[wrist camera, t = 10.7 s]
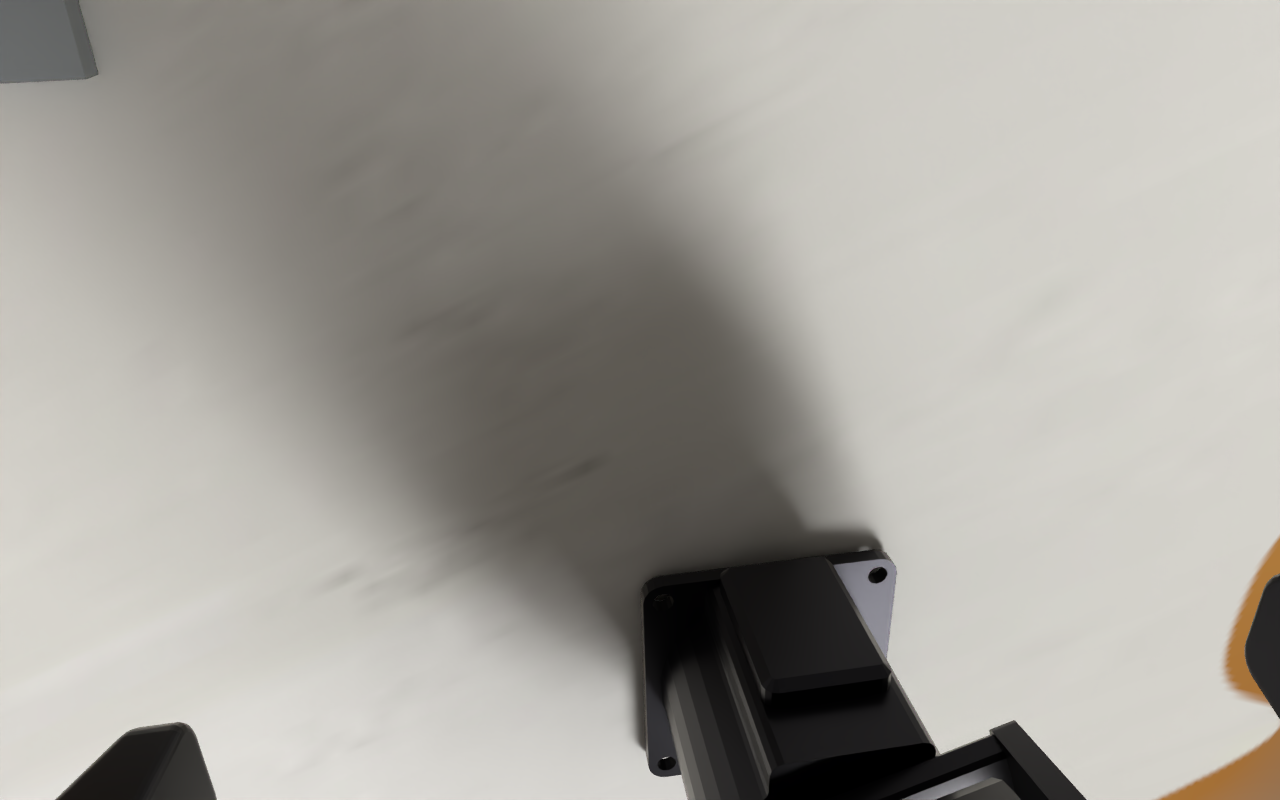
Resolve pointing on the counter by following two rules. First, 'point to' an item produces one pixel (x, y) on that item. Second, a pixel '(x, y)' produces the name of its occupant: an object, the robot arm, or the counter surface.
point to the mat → (43, 42)
